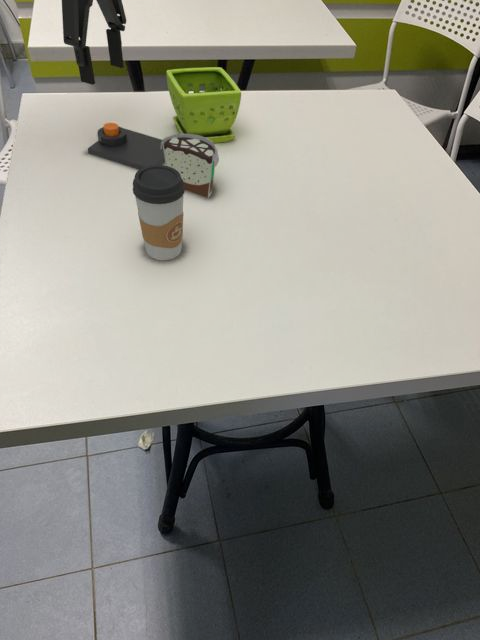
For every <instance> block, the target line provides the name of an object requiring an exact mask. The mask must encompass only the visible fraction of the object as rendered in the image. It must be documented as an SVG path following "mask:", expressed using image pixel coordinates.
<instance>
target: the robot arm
mask: <svg viewBox="0 0 480 640" xmlns="http://www.w3.org/2000/svg"><path fill="white" fill-rule="evenodd" d="M93 3H94V0H61V14H62V15H61V16H62V17H61V18H62V36H63V44H64V45H67V46H71V47H73V51H74V57H75V63H76V65H77V66H78V71H79V77H80V81H81V82H82V83H86V84H88V85H91V86H92V85H95V84H96V79H95V75H94V67H93V60H92V55H91V49H90V48H91V47H90V46H89V45H87V37H88V29H89V28H88V27H89V20H90V19H89V18H90V10H91V7H92V6H93V5H94V4H93ZM96 3H97V5H98V7H99V9H100V11H101V14H102V16H103V18H104V21H105V22H106V25H107V26H108V28H106V29H105V33H106V34H105V35H106V41H107V47H108V55H109V64H110V66H113V67H116V68H120V69H123V68H124V67H125V65H124V64H125V63H124V57H123V48H122V46H123V42H122V34H121V32H125V30H126V25H127V17H126V16H127V15H126V12H125V7H124V5H123V0H96Z"/></svg>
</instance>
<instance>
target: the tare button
mask: <svg viewBox="0 0 480 640" xmlns="http://www.w3.org/2000/svg"><path fill="white" fill-rule="evenodd" d="M118 126H119V125H118V124H117V123H115V122H107V123H105V124H103V126H102V127H104V134H105V135H106V136H117V135H119V127H120V126H119V127H118Z"/></svg>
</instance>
